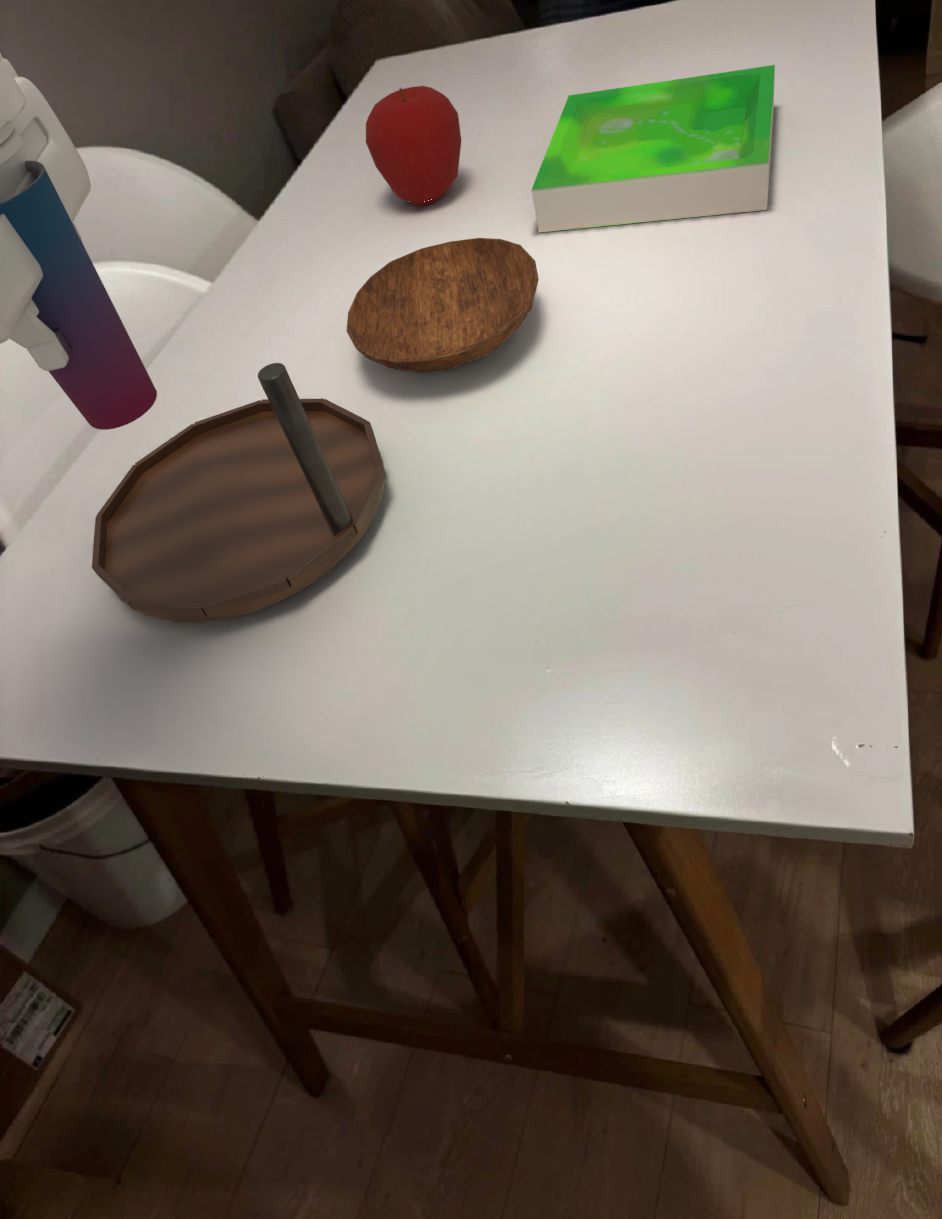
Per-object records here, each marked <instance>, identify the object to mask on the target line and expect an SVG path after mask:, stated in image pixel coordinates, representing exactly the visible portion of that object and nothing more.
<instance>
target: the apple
mask: <svg viewBox="0 0 942 1219" xmlns="http://www.w3.org/2000/svg"><path fill="white" fill-rule="evenodd" d="M365 144H366V146H367V148H368V151H369V153H370V156H371V159H372V162H373V164H374V166H375V168H376V170H377V171H378V172H379V173H380V175H381V176H382V178H383V179H384V181H386V183H387V185H388V186H389V188H390V189H391V191H392V192H393V193H394V195H395V196H396V197H398V198H400V199H401V200H403V201H405V200H406V202H407V203H409V204H411V205H413V206H416V207H424V206H428V205H430V204H433V203H435V202H437V201H439V200H441V198H443V197H444V196H445V195H446V193H447V191H449V189H450V188H451V187H452V184H453V183H454V182H455V181H456V179H457V178H458V175H459V167H460V158H461V149H462V135H461V125H460V117H459V113H458V111H457V109H456V108H455V107H454V105H453V103H452V101H451V100H450V99H449V97H447V96H446V95H445V94H444V93H442V92H440V91H438V90H436V89H435V88H433V87H430V86H427V85H418V86H417V85H416V86H409V87H404V88H402V87H399V88H398V90H395V91H393V92H391V93H389V94H387V95H386V96H385V97H383V98H381V99H380V100H378V102H376V103H375V104H374V105H373V107H372V109H371V111H370V113H369V115H368V116H367V119H366V122H365ZM431 199H432V200H431ZM428 200H429V201H428ZM409 201H410V202H409ZM424 201H425V202H424Z"/></svg>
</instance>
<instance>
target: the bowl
mask: <svg viewBox="0 0 942 1219" xmlns="http://www.w3.org/2000/svg"><path fill="white" fill-rule="evenodd" d="M537 268H538V267H537V263H536V260H535V259H534V258H533V257H532V255H531V254H529V253H528V252H527V251H526V249H525V248H524V247H523V245H521V244H519V243H515V242H512V241H509V240H505V239H502V238H489V237H488V238H487V237H474V238H466V239H458V240H451V241H446V242H443V243H438V244H434V245H430V246H426V247H423V248H419V249H417V250H414V251H411V252H409V253H407V254H405V255H403V256H399V257H398V258H396V259H395V258H394V260H391V261H389V262H388V263H386V264H385V265H384V266H383V267H381V268H380V269H379V270H377V271H376V272H375V273H373V274H372V275H371V276H369V278H368V279H367V280H366V281H365V283H363V285H362V286H361V287H360V288H359V290H358V291H357V292H356V293H355V296H354V298H353V300H352V303H351V305H350V307H349V310H348V312H347V319H346V320H347V321H346V330H345V331H346V334H347V336H348V337H349V340H350V341H351V342H352V344H353V347H354V348H355V350H356V351H358V353H360V354H361V355H363V356H364V357H365V358H366V359H369V360H370V361H372V362H375V363H376V364H379V365H381V366H383V367H385V368H387V369H390V370H397V371H402V372H403V371H404V372H411V373H419V374H424V373H436V372H445V371H450V370H453V369H456V368H459V367H460V366H463V365H466V364H468V363H470V362H473V361H475V360H479V359H481V358H483V357H486V356H488V355H490V354H492V353H493V352H494V351H495V350H496V349H497V348H498V347H500V346H501V345H502V344H504V343H505V342H506V341H507V340H508V339H509V338H511V336H513V334H515V333H516V332H517V331H518V330H519V328H520V327H521V325H522V324H523V322H524V321H525V319H526V318H527V316H528V314H529V313H530V312H531V311H532V308H533V306H534V301H535V297H536V294H537V293H536V292H537V288H538V284H539V279H540V277H539V273H538V269H537Z"/></svg>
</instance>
